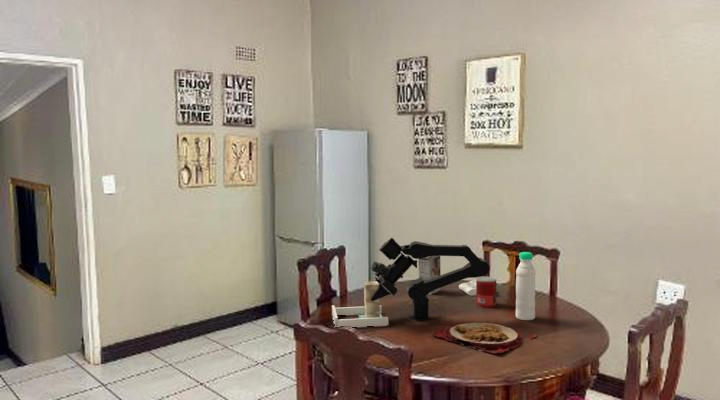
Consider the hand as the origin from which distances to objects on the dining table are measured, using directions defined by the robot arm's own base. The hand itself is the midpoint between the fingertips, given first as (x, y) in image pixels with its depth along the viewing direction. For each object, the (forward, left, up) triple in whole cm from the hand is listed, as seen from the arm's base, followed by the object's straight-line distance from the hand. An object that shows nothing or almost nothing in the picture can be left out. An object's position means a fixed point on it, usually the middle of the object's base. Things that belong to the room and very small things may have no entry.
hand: (370, 298), depth 202 cm
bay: (+2, +4, -8) cm, 10 cm away
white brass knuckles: (+12, -62, -9) cm, 63 cm away
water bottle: (-27, -52, -8) cm, 59 cm away
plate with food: (-35, -25, -9) cm, 44 cm away
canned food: (-6, -51, -8) cm, 52 cm away
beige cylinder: (0, -1, -7) cm, 7 cm away
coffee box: (+23, -43, -8) cm, 49 cm away
